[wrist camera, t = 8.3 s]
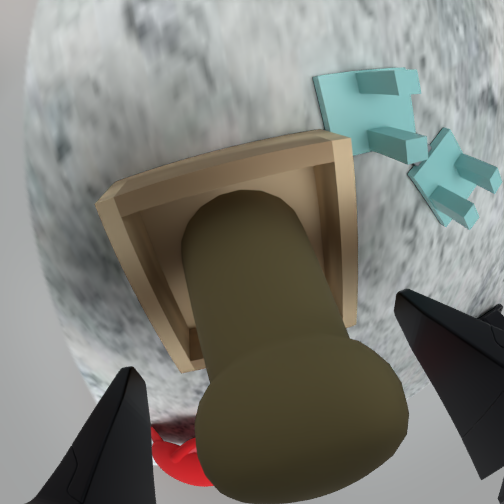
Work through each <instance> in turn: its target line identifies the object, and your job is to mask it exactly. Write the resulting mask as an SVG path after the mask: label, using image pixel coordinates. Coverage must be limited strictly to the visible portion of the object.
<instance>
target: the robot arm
mask: <svg viewBox="0 0 504 504" xmlns="http://www.w3.org/2000/svg"><path fill="white" fill-rule="evenodd" d="M502 309H503V306H502V305H501V304H500V305H498V306H497V307H496V308H494V309H493V310H491V311H490V312H488V313H487V314H485V315H483V316H482V317H480V318H479V319H477V318H474V317H472V316H470V315H468V314H465V313H463V312H461V311H459V310H456V309H454V308H452V307H450V306H447V305H445V304H443V303H440V302H438V301H436V300H433V299H431V298H429V297H426V296H424V295H422V294H419V293H417V292H415V291H412V290H410V289H404V290H402V291H399V292H398V293H397V294H396V300H395V307H394V313H395V316H396V318H397V320H398V322H399V324H400V326H401V328H402V331H403V333H404V335H405V337H406V339H407V341H408V343H409V345H410V347H411V349H412V351H413V353H414V354H415V356H416V358H417V359H418V361H419V363H420V364H421V366H422V368H423V369H424V371H425V373H426V374H427V376H428V378H429V379H430V381H431V383H432V385H433V386H434V388H435V390H436V391H437V393H438V395H439V397H440V399H441V400H442V402H443V404H444V406H445V408H446V410H447V411H448V413H449V415H450V417H451V419H452V421H453V423H454V424H455V427H456V428H457V430H458V432H459V434H460V436H461V438H462V440H463V443H464V445H465V447H466V449H467V451H468V453H469V455H470V457H471V459H472V461H473V464H474V466H475V468H476V470H477V472H478V474H479V477H480V479H481V480H483V479H484V478H486V477H488V476H489V475H491V474H493V473H494V472H496V471H497V470H499V469H500V468H502V467H503V466H504V316H503V315H502V314H501V311H502ZM498 500H499V502H500V504H504V479H503V482H502V486H501V489H500V493H499V496H498ZM26 504H156V498H155V487H154V475H153V461H152V442H151V423H150V415H149V407H148V399H147V390H146V384H145V381H144V380H143V378H142V377H141V376H140V374H139V373H138V372H137V371H136V369H135V368H134V367H132V366H130V367H124V368H121V369H120V371H119V372H118V374H117V375H116V377H115V378H114V380H113V381H112V383H111V384H110V386H109V387H108V389H107V390H106V392H105V393H104V395H103V396H102V398H101V399H100V401H99V402H98V404H97V406H96V407H95V409H94V410H93V412H92V413H91V415H90V416H89V418H88V420H87V421H86V423H85V424H84V426H83V427H82V429H81V431H80V432H79V434H78V436H77V437H76V439H75V441H74V442H73V444H72V446H71V447H70V448H69V450H68V452H67V453H66V455H65V456H64V458H63V459H62V461H61V463H60V464H59V466H58V467H57V468H56V470H55V471H54V473H53V474H52V475H51V477H50V478H49V479H48V481H47V482H46V483H45V485H44V486H43V488H42V489H41V490H40V492H39V493H38V494H37V495H36V497H35V498H34V499H32V500H31V501H30V502H28V503H26Z"/></svg>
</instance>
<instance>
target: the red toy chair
mask: <svg viewBox="0 0 504 504" xmlns="http://www.w3.org/2000/svg"><path fill="white" fill-rule="evenodd" d="M151 438H152V440H153V442H154V443H153V445H152V455H153V458H154V460H155V462H156V463H157V464H158V466H159V467H160V468H161V469H162V470H163V471H165V472H166V473H167V474H168V475H170V476H171V477H173V478H175V479H177V480H179V481H181V482H184V483H187V484H190V485H194V486H204V487H205V486H214V485H213V484H212V483H211V482H210V481H209V480H208V479H207V477H206V476H205V474H204V471H203V469H202V467H201V464H200V462H199V459H198V455H197V449H196V438H192V439H190V440H188V441H186V442H185V443H183V444H182V445H181V446H179V445H176V444H173V443H170V442H166V441H163V439H162V438H161V437H160V435H159V434H158V433H157V432H156V431H155V429H154V428H153V427H151Z"/></svg>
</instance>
